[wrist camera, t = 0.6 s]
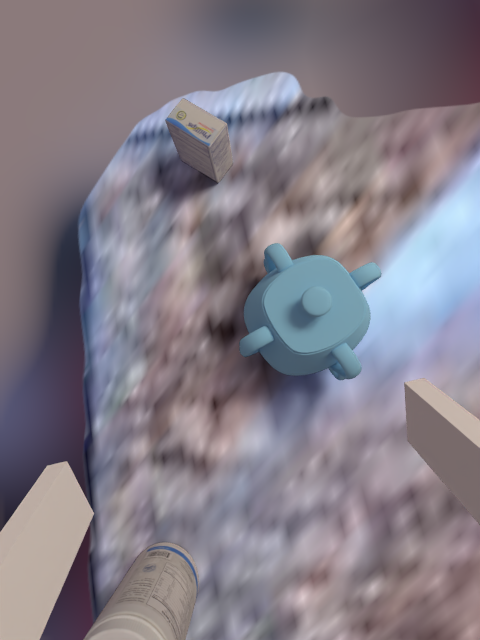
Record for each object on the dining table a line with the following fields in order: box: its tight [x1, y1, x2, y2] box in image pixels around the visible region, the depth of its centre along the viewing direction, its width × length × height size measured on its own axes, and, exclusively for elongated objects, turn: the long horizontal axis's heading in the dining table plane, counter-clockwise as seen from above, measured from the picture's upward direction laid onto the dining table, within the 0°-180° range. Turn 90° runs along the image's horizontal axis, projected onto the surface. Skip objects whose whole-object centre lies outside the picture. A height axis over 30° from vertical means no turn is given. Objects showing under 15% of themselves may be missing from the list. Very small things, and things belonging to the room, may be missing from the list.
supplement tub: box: [84, 542, 199, 640], centre depth 34 cm, size 10×10×15 cm
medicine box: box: [165, 98, 233, 183], centre depth 46 cm, size 8×4×9 cm, turn 55°
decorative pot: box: [239, 243, 381, 380], centre depth 38 cm, size 16×16×14 cm
